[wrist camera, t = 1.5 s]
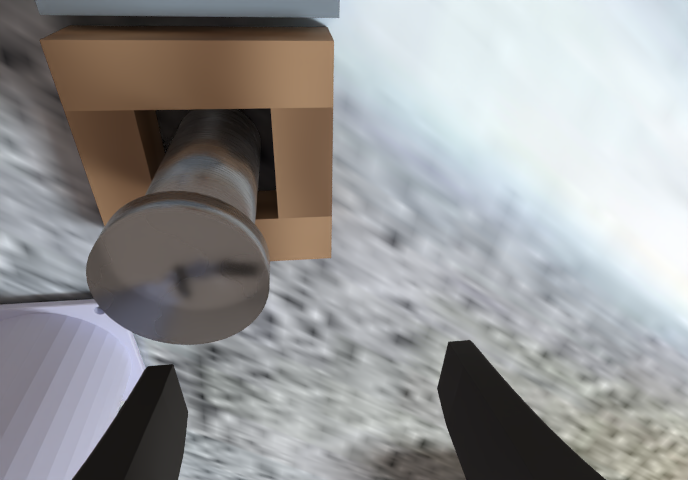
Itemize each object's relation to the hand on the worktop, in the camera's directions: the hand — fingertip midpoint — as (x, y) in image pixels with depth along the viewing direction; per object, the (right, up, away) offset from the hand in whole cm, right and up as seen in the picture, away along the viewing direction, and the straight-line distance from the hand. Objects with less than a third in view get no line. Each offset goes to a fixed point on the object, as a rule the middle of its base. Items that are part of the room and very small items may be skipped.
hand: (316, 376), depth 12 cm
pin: (-5, +8, +7) cm, 11 cm away
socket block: (-5, +8, +7) cm, 11 cm away
